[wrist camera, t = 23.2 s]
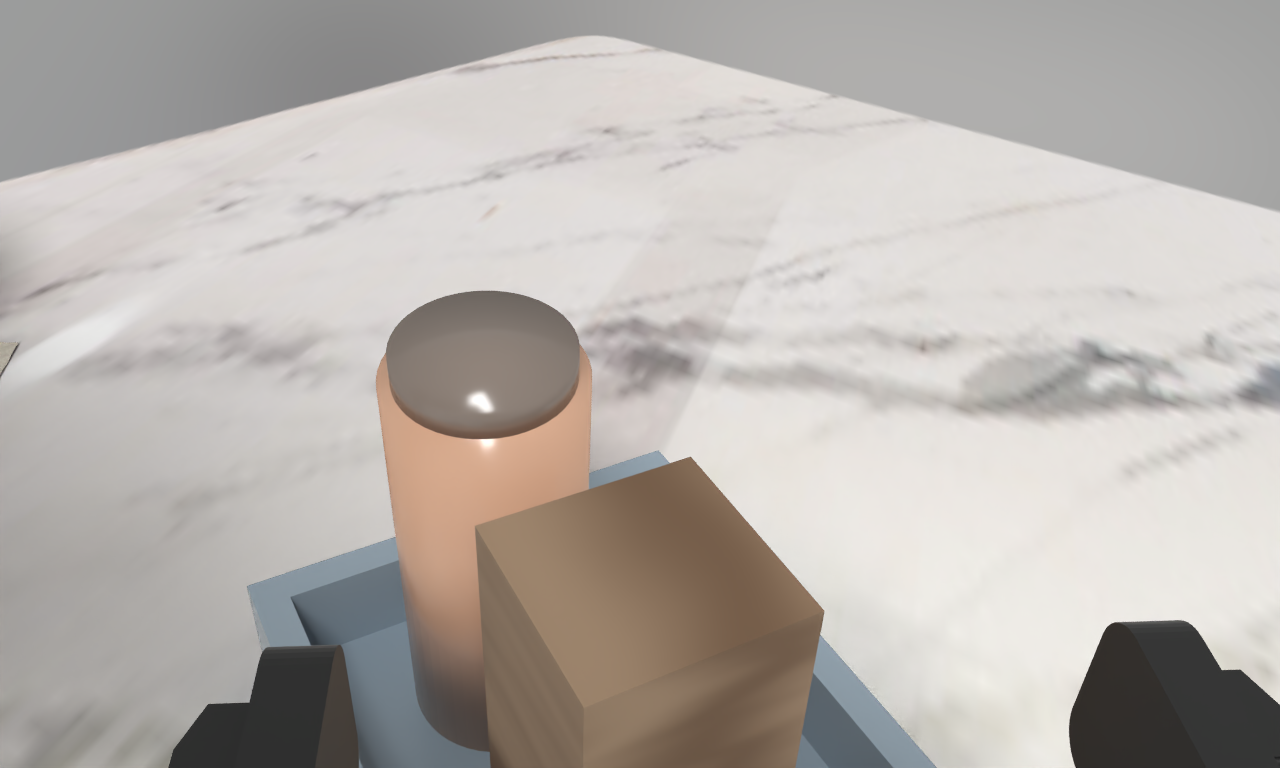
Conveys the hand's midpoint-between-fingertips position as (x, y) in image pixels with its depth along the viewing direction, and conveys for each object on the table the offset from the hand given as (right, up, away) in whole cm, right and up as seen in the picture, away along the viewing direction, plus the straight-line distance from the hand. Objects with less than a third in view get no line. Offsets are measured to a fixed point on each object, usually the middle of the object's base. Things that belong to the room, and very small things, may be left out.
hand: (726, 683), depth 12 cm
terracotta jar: (-5, -6, +23) cm, 24 cm away
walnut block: (-1, -10, +17) cm, 20 cm away
